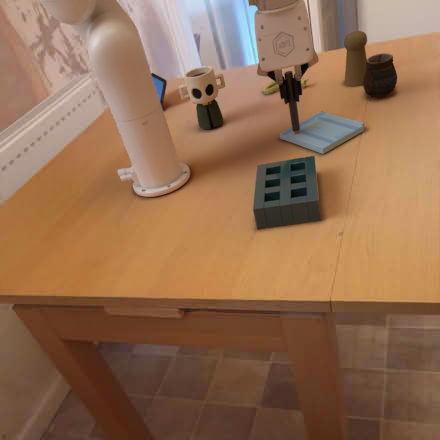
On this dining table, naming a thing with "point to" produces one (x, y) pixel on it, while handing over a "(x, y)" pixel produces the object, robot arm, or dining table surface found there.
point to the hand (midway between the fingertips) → (292, 99)
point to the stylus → (292, 102)
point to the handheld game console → (160, 87)
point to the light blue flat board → (323, 132)
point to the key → (277, 86)
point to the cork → (355, 58)
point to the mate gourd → (379, 76)
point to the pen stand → (286, 193)
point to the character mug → (204, 94)
